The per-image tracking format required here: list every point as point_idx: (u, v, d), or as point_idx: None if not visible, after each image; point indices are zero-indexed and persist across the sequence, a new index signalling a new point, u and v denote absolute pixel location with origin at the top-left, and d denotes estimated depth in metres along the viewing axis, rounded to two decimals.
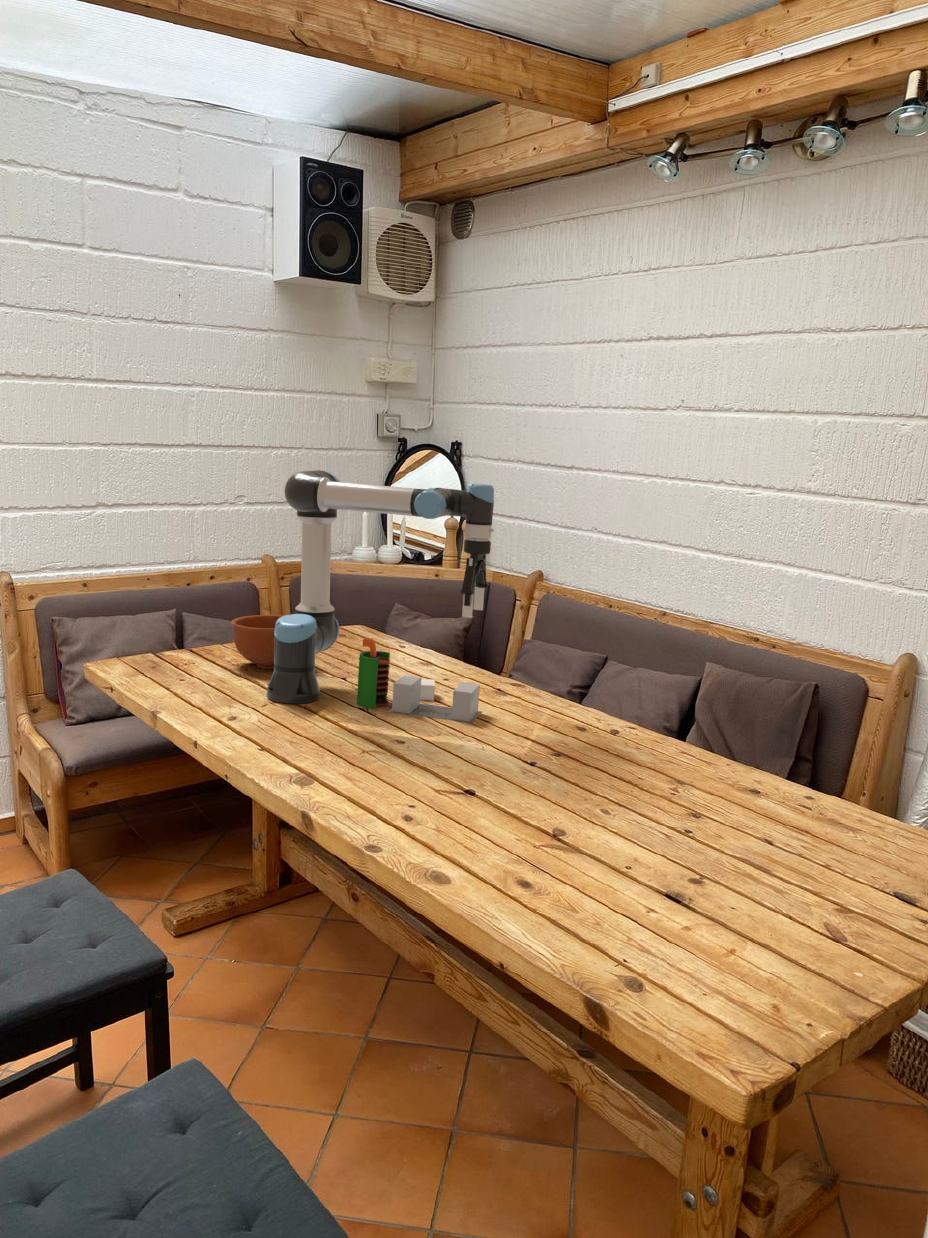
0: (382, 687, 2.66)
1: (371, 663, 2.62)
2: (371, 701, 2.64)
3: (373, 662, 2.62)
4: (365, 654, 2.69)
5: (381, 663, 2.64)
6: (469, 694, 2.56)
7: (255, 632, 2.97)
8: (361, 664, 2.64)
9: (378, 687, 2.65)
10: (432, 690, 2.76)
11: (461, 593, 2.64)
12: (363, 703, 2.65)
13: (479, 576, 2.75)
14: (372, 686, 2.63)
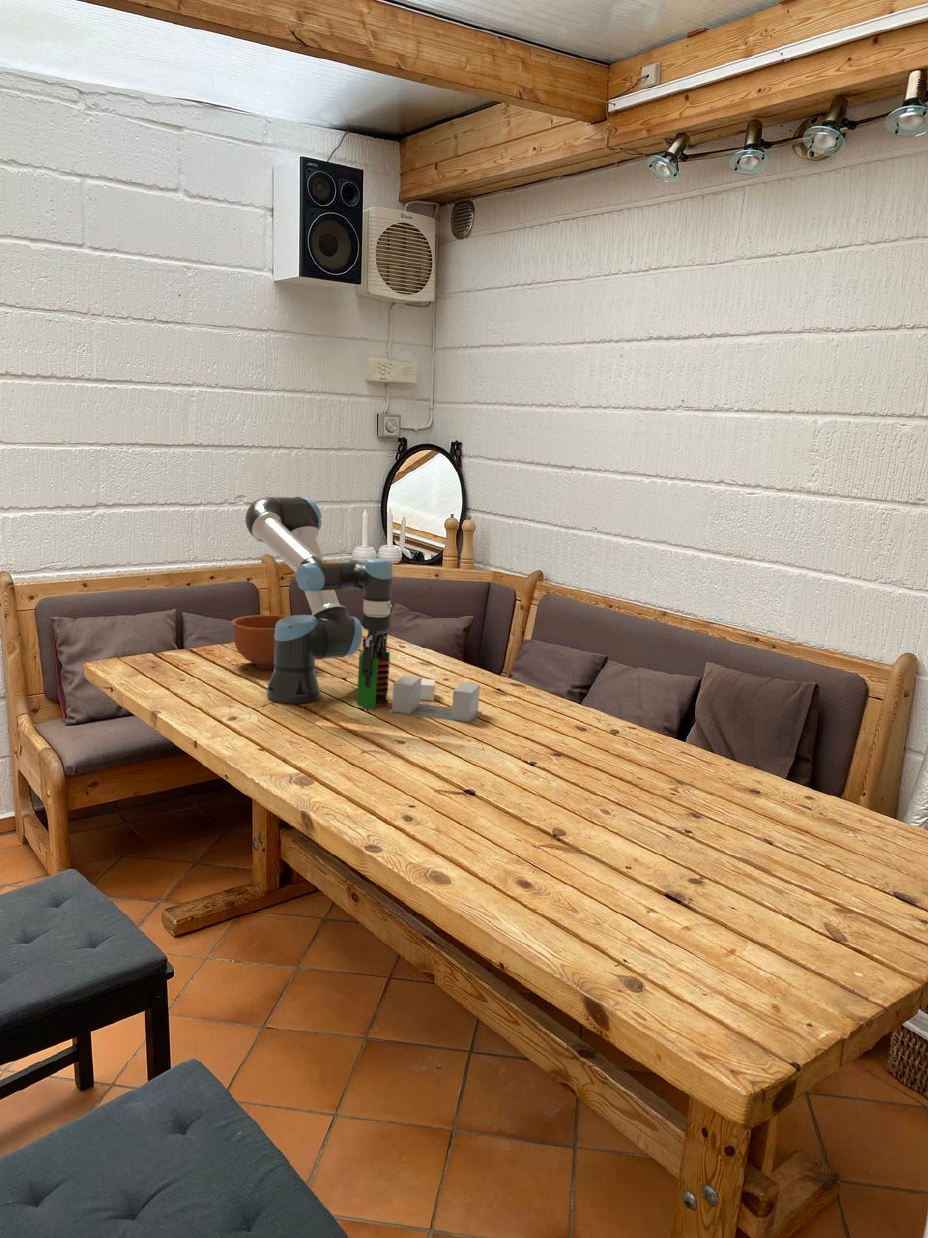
0: (382, 687, 2.65)
1: None
2: (371, 701, 2.64)
3: (372, 662, 2.62)
4: None
5: (381, 663, 2.64)
6: (469, 694, 2.56)
7: (255, 632, 2.97)
8: (361, 664, 2.64)
9: (378, 687, 2.65)
10: (432, 690, 2.76)
11: None
12: (363, 703, 2.65)
13: (378, 654, 2.69)
14: (372, 686, 2.63)
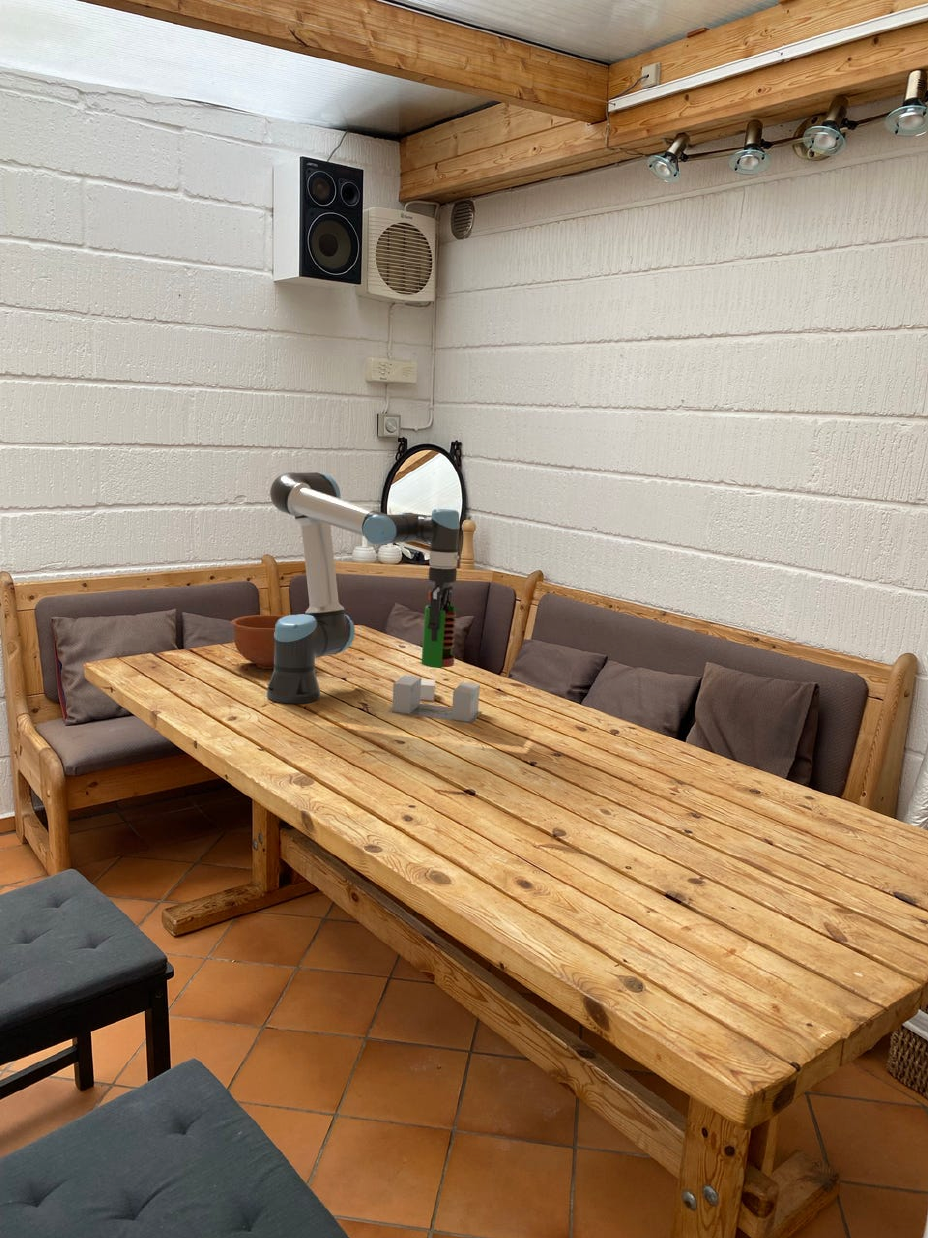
0: (449, 641, 2.58)
1: None
2: (438, 655, 2.57)
3: (440, 615, 2.55)
4: None
5: (448, 616, 2.57)
6: (469, 694, 2.56)
7: (255, 632, 2.97)
8: (427, 617, 2.57)
9: (445, 641, 2.58)
10: (432, 690, 2.76)
11: (428, 628, 2.56)
12: (429, 657, 2.58)
13: (444, 608, 2.62)
14: (439, 640, 2.56)
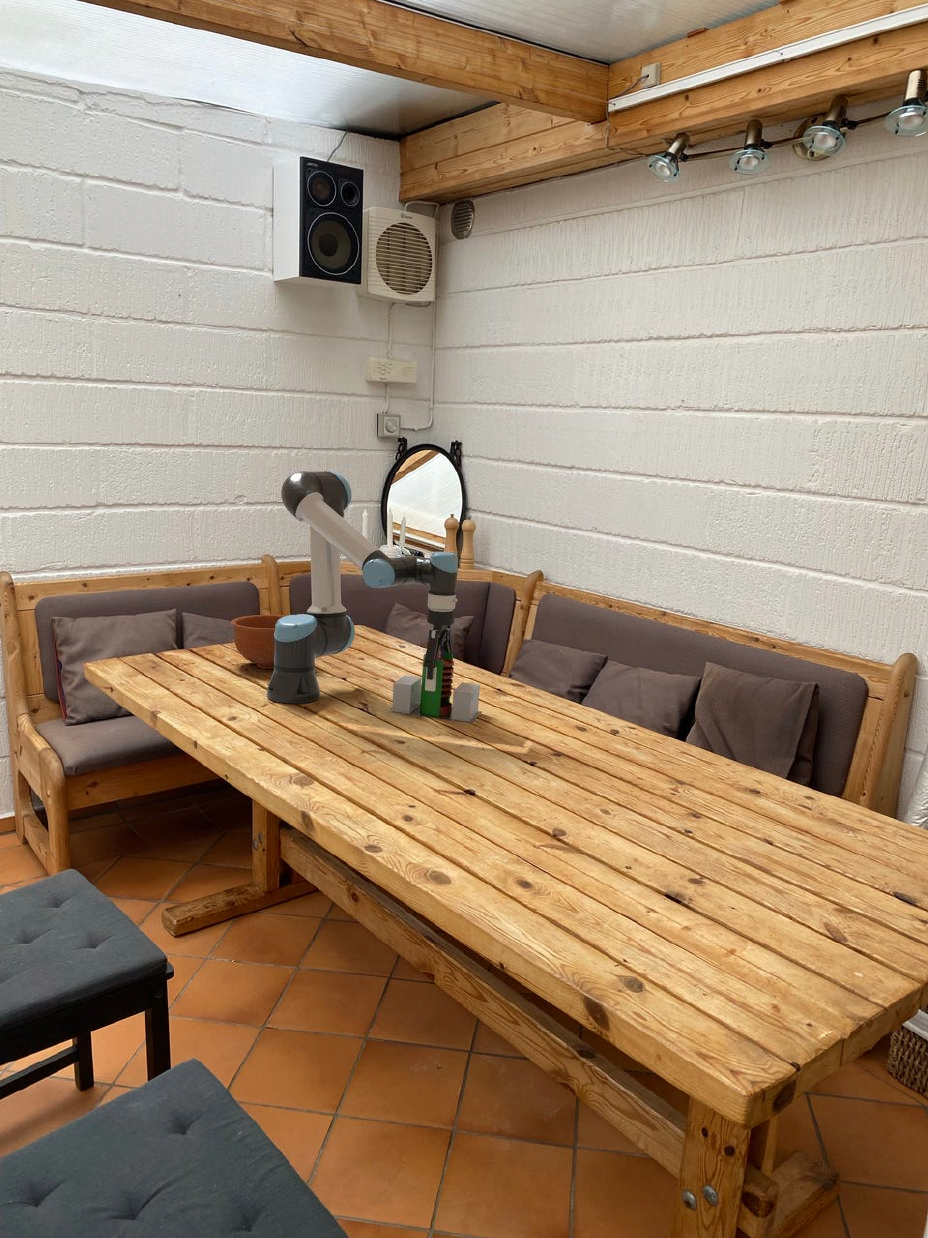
0: (446, 689, 2.61)
1: (436, 665, 2.58)
2: (436, 703, 2.60)
3: (438, 664, 2.58)
4: None
5: (446, 665, 2.60)
6: (469, 694, 2.56)
7: (255, 632, 2.97)
8: None
9: (442, 689, 2.61)
10: None
11: (424, 666, 2.55)
12: (427, 705, 2.61)
13: (444, 646, 2.66)
14: (437, 688, 2.59)
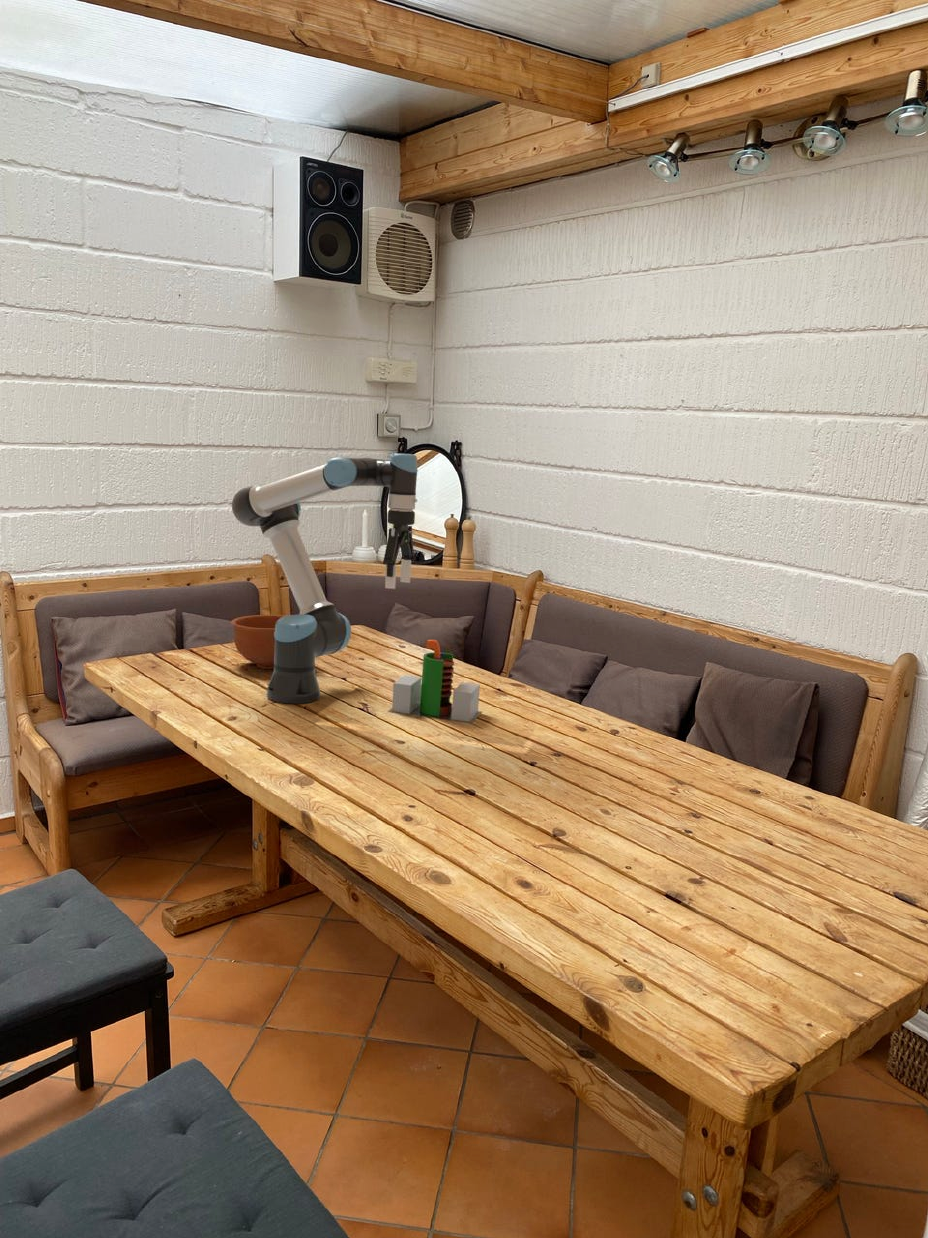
0: (446, 689, 2.61)
1: (436, 665, 2.58)
2: (436, 703, 2.60)
3: (438, 664, 2.58)
4: (428, 656, 2.65)
5: (446, 665, 2.60)
6: (469, 694, 2.56)
7: (255, 632, 2.97)
8: (425, 666, 2.60)
9: (442, 689, 2.61)
10: None
11: None
12: (427, 706, 2.61)
13: (405, 548, 2.72)
14: (437, 688, 2.59)
